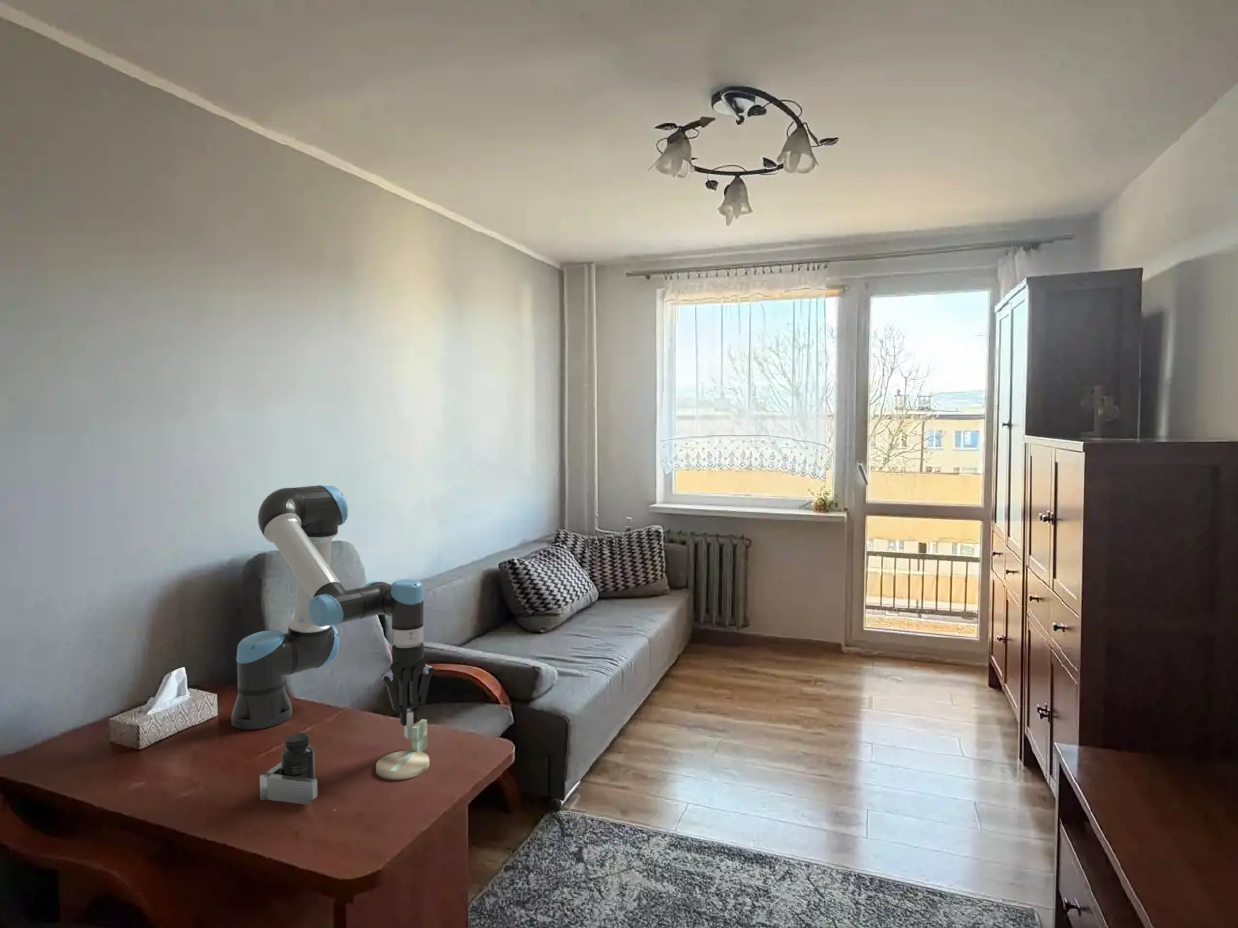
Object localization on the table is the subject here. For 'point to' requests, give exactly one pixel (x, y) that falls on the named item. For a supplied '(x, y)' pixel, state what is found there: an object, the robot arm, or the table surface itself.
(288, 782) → the vee block
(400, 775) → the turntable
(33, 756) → the table surface
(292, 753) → the supplement bottle
